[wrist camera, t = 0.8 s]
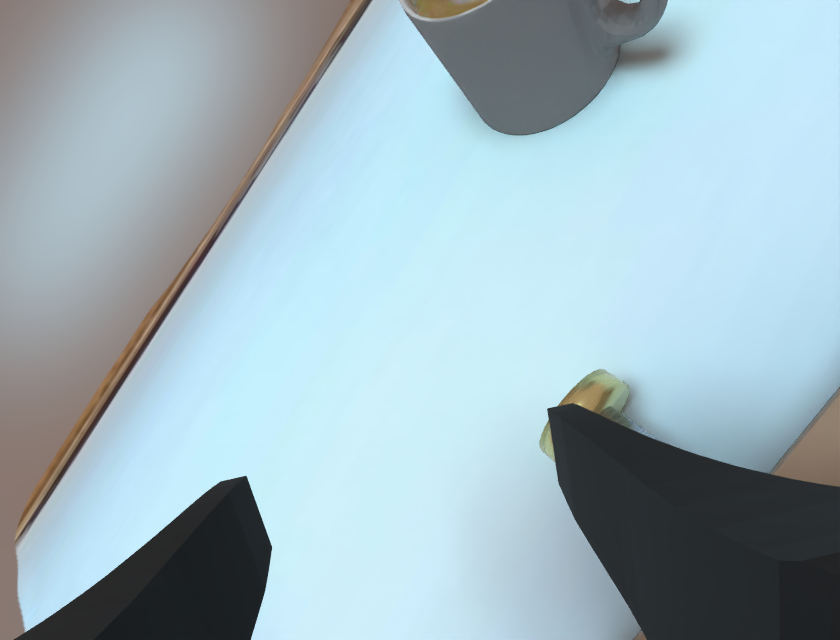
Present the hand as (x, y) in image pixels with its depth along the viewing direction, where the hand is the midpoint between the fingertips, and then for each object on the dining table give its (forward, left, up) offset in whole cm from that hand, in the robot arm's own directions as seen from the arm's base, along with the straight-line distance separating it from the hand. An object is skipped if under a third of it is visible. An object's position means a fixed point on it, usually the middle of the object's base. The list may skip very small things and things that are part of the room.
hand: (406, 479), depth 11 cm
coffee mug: (+16, -20, -17) cm, 30 cm away
